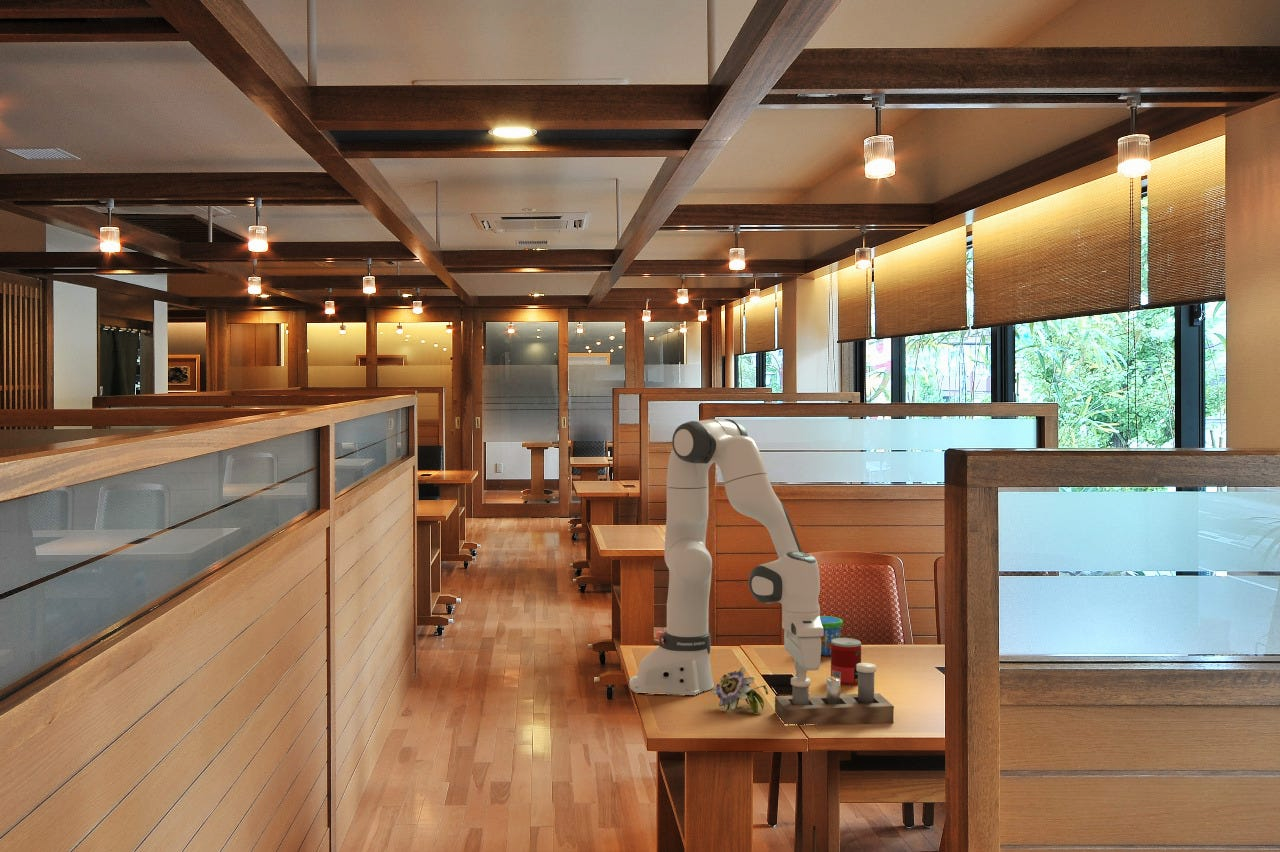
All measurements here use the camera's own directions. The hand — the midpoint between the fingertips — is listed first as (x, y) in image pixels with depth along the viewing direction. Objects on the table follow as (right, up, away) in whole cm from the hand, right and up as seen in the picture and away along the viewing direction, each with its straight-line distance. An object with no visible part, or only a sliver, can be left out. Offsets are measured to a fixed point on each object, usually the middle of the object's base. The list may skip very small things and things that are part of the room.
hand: (801, 679), depth 235 cm
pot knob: (+8, -6, +1) cm, 10 cm away
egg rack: (+8, -10, +1) cm, 12 cm away
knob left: (0, -9, 0) cm, 9 cm away
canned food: (+17, -9, +31) cm, 37 cm away
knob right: (+16, -6, +2) cm, 17 cm away
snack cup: (+17, -8, +61) cm, 64 cm away
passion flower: (-14, -10, +8) cm, 19 cm away
